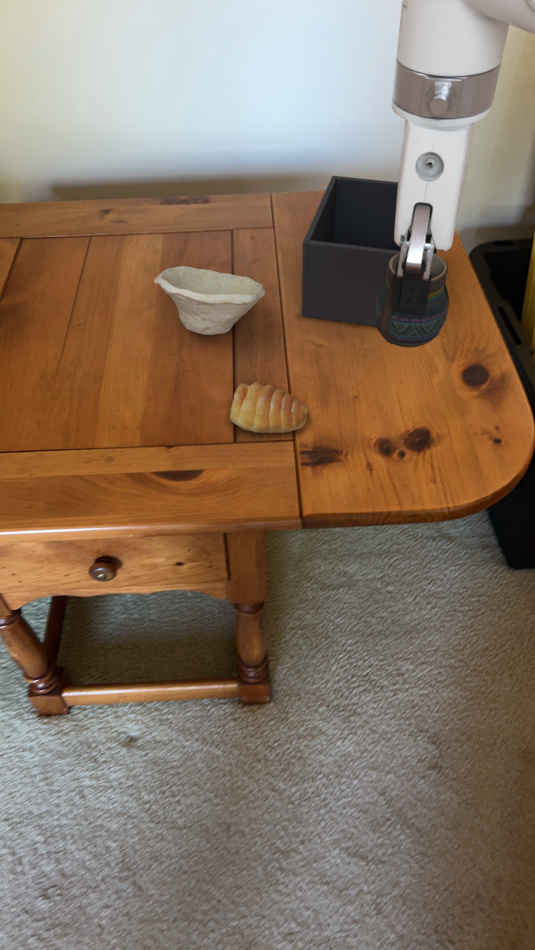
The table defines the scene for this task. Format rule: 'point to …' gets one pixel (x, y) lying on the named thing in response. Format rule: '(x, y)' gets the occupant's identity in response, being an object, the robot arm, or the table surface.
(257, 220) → the table surface
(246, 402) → the pastry
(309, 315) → the trash bin
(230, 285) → the bowl
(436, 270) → the mate gourd
